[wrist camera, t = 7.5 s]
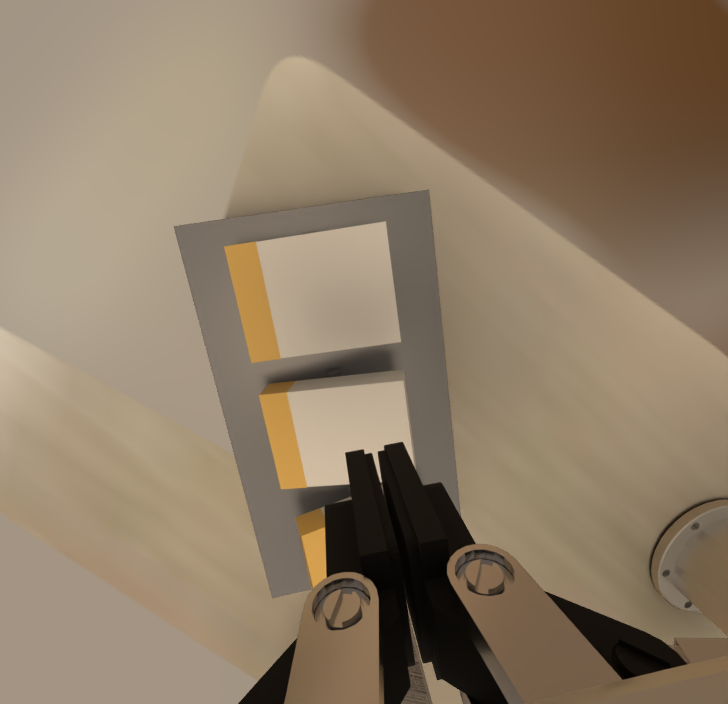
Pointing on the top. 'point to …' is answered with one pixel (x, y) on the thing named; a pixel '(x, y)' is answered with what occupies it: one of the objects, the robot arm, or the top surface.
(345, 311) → the block
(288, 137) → the top surface
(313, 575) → the rocker
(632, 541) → the top surface
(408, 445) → the block
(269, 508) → the switch console
